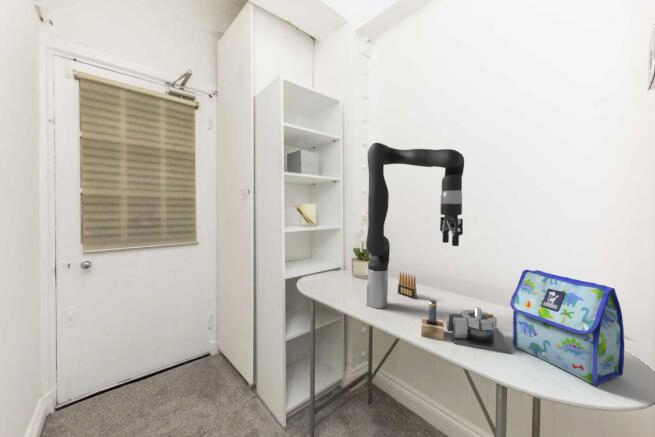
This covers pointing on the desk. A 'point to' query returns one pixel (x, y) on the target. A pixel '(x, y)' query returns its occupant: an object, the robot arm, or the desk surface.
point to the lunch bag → (569, 324)
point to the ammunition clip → (407, 286)
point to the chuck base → (483, 338)
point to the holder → (432, 329)
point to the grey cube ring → (469, 322)
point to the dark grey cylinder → (432, 312)
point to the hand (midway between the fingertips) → (450, 244)
